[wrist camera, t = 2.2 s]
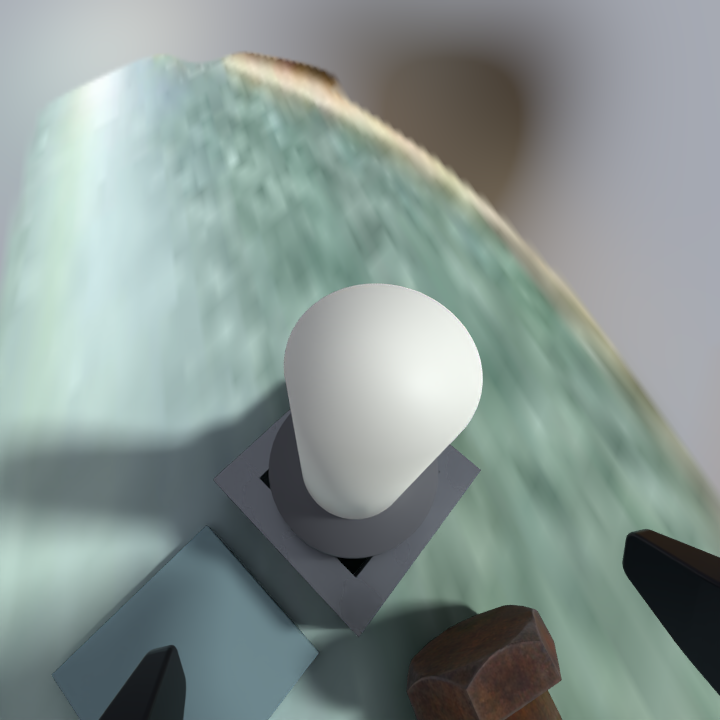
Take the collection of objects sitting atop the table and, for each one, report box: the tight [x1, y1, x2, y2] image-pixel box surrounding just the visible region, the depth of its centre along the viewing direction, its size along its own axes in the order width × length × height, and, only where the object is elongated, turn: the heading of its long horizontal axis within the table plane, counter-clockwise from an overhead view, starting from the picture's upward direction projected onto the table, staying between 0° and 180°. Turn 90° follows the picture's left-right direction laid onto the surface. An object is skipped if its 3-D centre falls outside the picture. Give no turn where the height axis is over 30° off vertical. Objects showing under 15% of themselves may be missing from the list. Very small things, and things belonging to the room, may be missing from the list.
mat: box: [52, 525, 319, 720], centre depth 15 cm, size 7×7×1 cm
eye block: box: [213, 409, 481, 637], centre depth 18 cm, size 8×8×3 cm
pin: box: [269, 284, 483, 559], centre depth 14 cm, size 6×6×13 cm
